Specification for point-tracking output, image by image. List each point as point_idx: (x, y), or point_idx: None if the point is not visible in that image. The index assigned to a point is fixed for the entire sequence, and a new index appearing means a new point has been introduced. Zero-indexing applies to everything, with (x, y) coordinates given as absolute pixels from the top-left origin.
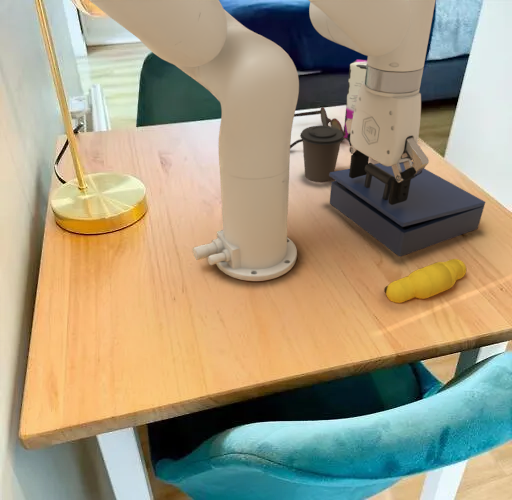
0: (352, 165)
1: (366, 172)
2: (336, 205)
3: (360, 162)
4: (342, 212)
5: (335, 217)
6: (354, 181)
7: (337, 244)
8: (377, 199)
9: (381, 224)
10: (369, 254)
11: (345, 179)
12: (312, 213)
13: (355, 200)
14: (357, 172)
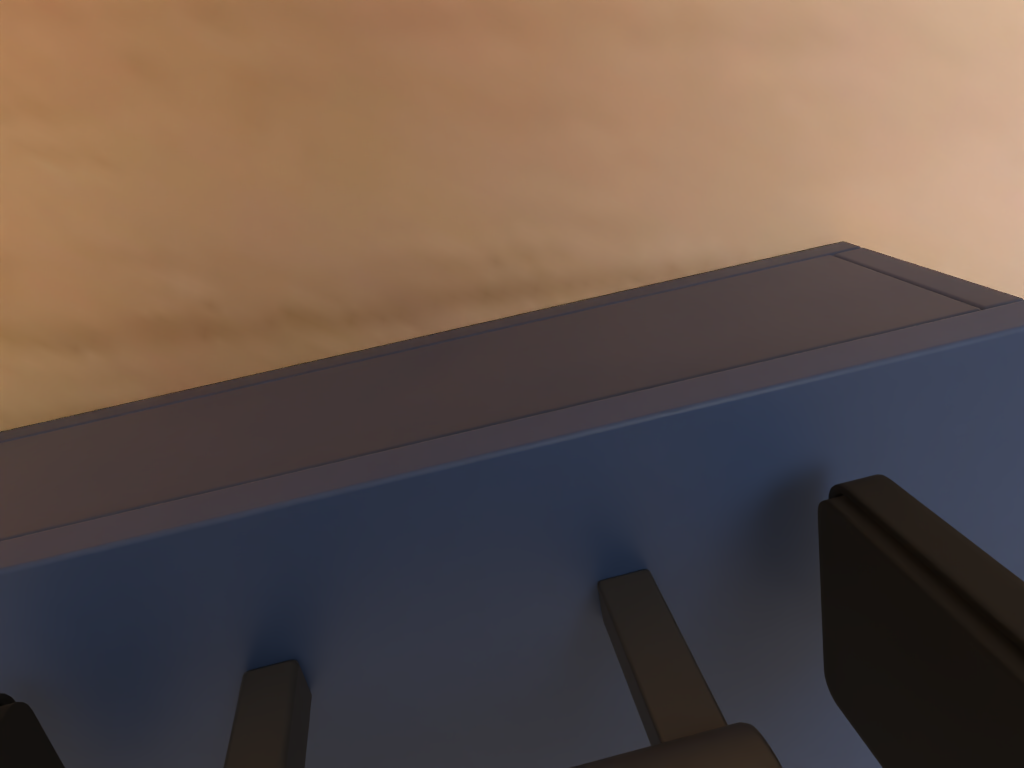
0: (976, 605)
1: (842, 706)
2: (779, 274)
3: (971, 756)
4: (677, 289)
5: (674, 222)
6: (800, 505)
7: (261, 47)
8: (270, 597)
9: (123, 476)
10: (55, 260)
11: (892, 419)
12: (812, 44)
13: (575, 397)
14: (860, 605)
